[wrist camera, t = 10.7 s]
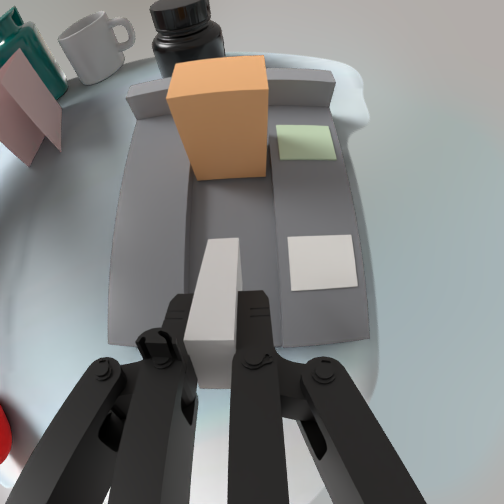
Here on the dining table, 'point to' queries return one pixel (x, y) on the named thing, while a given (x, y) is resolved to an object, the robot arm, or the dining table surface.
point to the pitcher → (30, 51)
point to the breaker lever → (222, 115)
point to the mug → (95, 46)
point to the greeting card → (26, 109)
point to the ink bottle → (184, 33)
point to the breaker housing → (242, 219)
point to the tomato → (4, 436)
